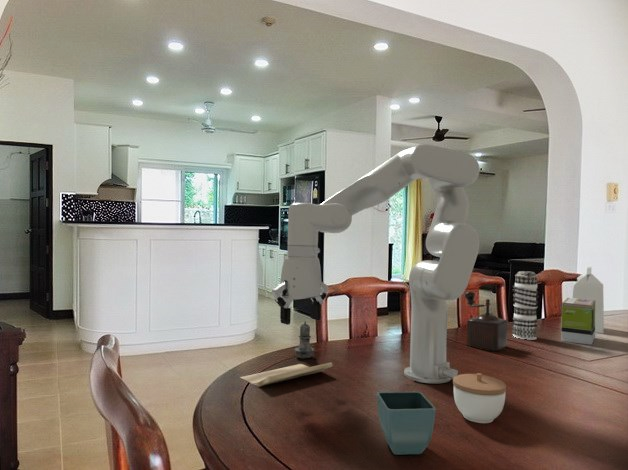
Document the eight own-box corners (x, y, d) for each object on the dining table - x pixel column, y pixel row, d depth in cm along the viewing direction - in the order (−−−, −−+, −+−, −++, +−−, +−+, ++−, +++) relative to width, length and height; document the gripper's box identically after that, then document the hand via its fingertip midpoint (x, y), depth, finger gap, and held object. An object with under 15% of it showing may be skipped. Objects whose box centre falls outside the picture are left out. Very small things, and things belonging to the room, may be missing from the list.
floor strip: (315, 373, 125) (315, 369, 125) (253, 389, 112) (253, 383, 112) (300, 367, 130) (300, 363, 130) (239, 382, 117) (239, 377, 117)
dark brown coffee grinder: (508, 346, 161) (509, 294, 160) (496, 352, 152) (497, 298, 152) (465, 338, 171) (467, 290, 171) (452, 343, 163) (453, 292, 163)
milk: (603, 333, 185) (605, 269, 184) (570, 329, 191) (572, 267, 191) (603, 328, 195) (605, 267, 194) (572, 324, 201) (574, 265, 201)
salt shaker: (311, 364, 133) (312, 323, 133) (292, 363, 135) (293, 322, 134) (315, 359, 139) (316, 319, 139) (297, 357, 140) (297, 318, 140)
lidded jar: (476, 431, 91) (478, 384, 91) (441, 411, 101) (442, 369, 101) (516, 423, 96) (518, 378, 96) (479, 405, 105) (480, 364, 105)
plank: (332, 365, 120) (331, 361, 120) (269, 381, 107) (268, 376, 107) (317, 373, 125) (316, 369, 125) (255, 388, 112) (254, 384, 112)
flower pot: (374, 437, 88) (375, 391, 87) (419, 437, 88) (420, 390, 88) (385, 461, 79) (387, 409, 79) (435, 460, 80) (437, 408, 79)
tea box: (566, 334, 183) (567, 296, 182) (595, 338, 177) (596, 299, 176) (560, 341, 170) (561, 301, 170) (591, 345, 164) (593, 304, 164)
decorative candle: (508, 333, 180) (510, 270, 180) (533, 335, 179) (534, 271, 179) (515, 339, 171) (517, 272, 171) (541, 340, 170) (543, 273, 169)
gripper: (319, 251, 123) (317, 315, 123) (265, 252, 111) (263, 322, 112) (338, 253, 117) (336, 320, 117) (283, 254, 106) (281, 328, 106)
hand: (300, 321), depth 114 cm, fingers open, 9 cm apart
